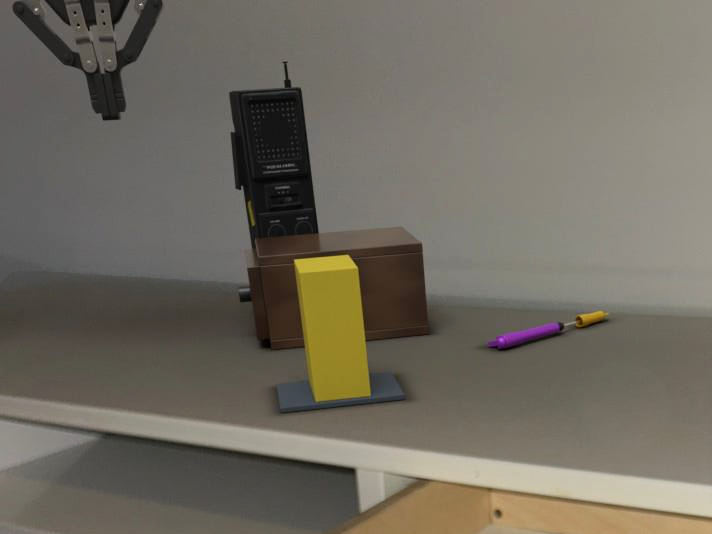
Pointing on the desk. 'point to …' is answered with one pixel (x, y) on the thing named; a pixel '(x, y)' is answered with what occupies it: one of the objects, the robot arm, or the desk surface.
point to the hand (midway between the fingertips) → (111, 119)
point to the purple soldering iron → (544, 330)
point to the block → (333, 327)
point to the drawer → (255, 294)
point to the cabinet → (376, 277)
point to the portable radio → (273, 161)
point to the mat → (302, 398)
